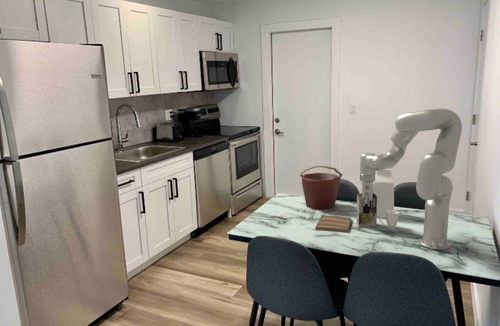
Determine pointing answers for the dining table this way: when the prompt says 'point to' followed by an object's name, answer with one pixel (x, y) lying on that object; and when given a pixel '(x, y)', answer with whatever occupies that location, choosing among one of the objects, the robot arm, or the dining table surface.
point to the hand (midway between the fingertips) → (366, 211)
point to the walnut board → (333, 223)
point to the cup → (391, 218)
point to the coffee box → (366, 218)
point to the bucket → (320, 189)
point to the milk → (384, 191)
